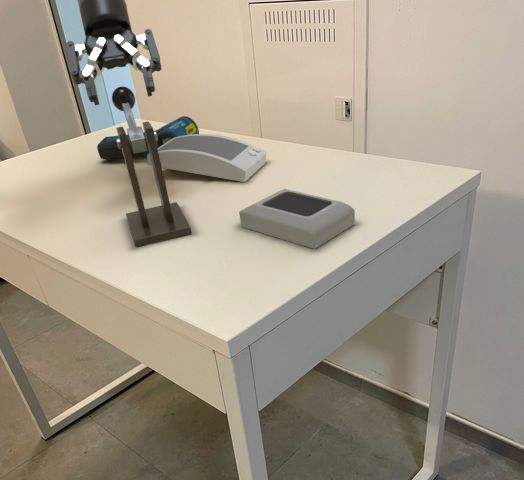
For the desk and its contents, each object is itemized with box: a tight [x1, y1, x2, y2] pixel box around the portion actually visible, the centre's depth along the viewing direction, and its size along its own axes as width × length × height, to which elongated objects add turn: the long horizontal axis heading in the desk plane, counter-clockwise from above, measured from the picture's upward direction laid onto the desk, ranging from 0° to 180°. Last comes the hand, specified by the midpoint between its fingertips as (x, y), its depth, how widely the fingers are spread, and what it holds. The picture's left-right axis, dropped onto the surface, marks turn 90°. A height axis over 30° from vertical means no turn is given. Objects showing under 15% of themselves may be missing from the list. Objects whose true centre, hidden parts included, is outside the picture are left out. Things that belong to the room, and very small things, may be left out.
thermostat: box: [147, 133, 267, 183], centre depth 109 cm, size 11×21×6 cm, turn 68°
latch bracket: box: [116, 120, 193, 248], centre depth 86 cm, size 12×9×16 cm
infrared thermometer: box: [96, 115, 200, 161], centre depth 123 cm, size 6×13×20 cm
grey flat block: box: [238, 188, 356, 250], centre depth 84 cm, size 10×4×15 cm
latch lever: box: [111, 86, 147, 154], centre depth 85 cm, size 13×4×4 cm, turn 18°
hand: (123, 97), depth 87 cm, fingers open, 8 cm apart
